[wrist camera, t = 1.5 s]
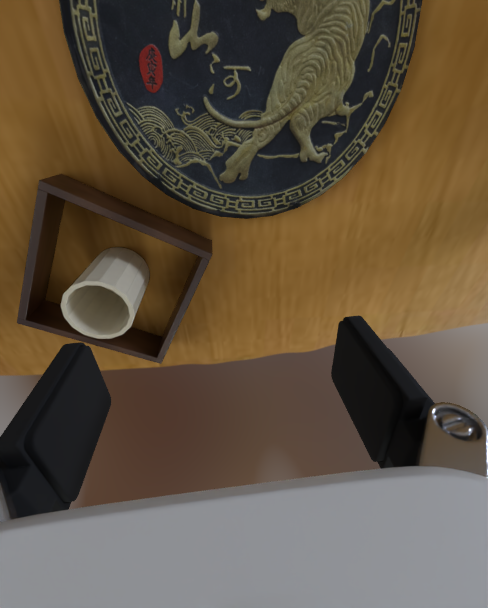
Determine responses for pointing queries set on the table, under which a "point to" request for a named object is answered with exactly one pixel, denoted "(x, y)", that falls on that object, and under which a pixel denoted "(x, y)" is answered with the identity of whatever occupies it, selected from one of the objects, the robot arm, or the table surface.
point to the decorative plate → (241, 91)
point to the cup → (107, 294)
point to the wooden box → (65, 188)
